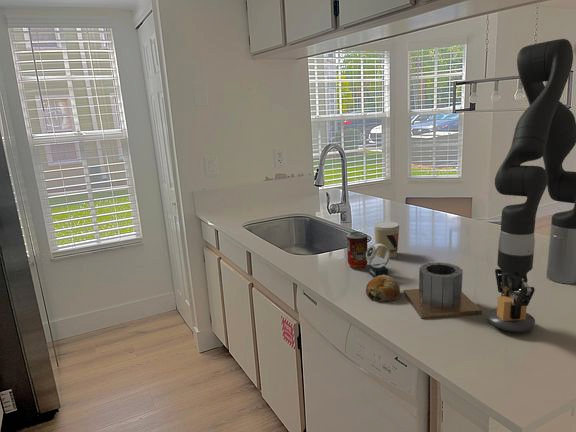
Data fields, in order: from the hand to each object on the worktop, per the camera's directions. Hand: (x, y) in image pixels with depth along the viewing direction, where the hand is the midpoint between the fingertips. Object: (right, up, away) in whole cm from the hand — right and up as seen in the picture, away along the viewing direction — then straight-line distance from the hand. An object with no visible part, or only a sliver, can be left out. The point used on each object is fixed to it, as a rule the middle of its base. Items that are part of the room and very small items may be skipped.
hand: (511, 314), depth 105 cm
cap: (0, -3, +1) cm, 3 cm away
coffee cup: (-18, +9, +57) cm, 60 cm away
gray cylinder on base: (-12, 0, +15) cm, 19 cm away
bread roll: (-27, 0, +23) cm, 35 cm away
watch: (-25, +4, +37) cm, 45 cm away
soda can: (-30, +6, +47) cm, 56 cm away
